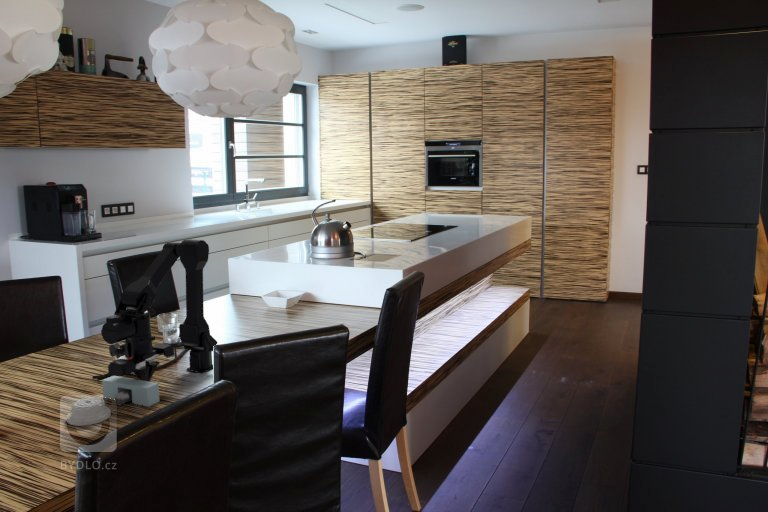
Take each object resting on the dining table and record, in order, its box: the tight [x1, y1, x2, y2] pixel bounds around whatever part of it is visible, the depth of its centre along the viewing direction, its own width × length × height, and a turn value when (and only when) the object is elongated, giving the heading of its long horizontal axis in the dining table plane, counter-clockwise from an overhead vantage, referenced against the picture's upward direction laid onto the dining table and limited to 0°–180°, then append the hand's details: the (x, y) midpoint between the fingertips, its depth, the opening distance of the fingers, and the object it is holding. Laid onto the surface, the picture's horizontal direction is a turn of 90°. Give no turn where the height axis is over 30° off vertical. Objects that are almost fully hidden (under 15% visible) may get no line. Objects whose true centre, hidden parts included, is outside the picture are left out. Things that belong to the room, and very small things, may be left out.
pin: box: [114, 378, 143, 406], centre depth 176 cm, size 7×6×4 cm
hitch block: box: [101, 375, 160, 408], centre depth 176 cm, size 4×16×5 cm, turn 65°
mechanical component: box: [66, 396, 111, 427], centre depth 164 cm, size 10×4×10 cm
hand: (144, 388), depth 181 cm, fingers closed
